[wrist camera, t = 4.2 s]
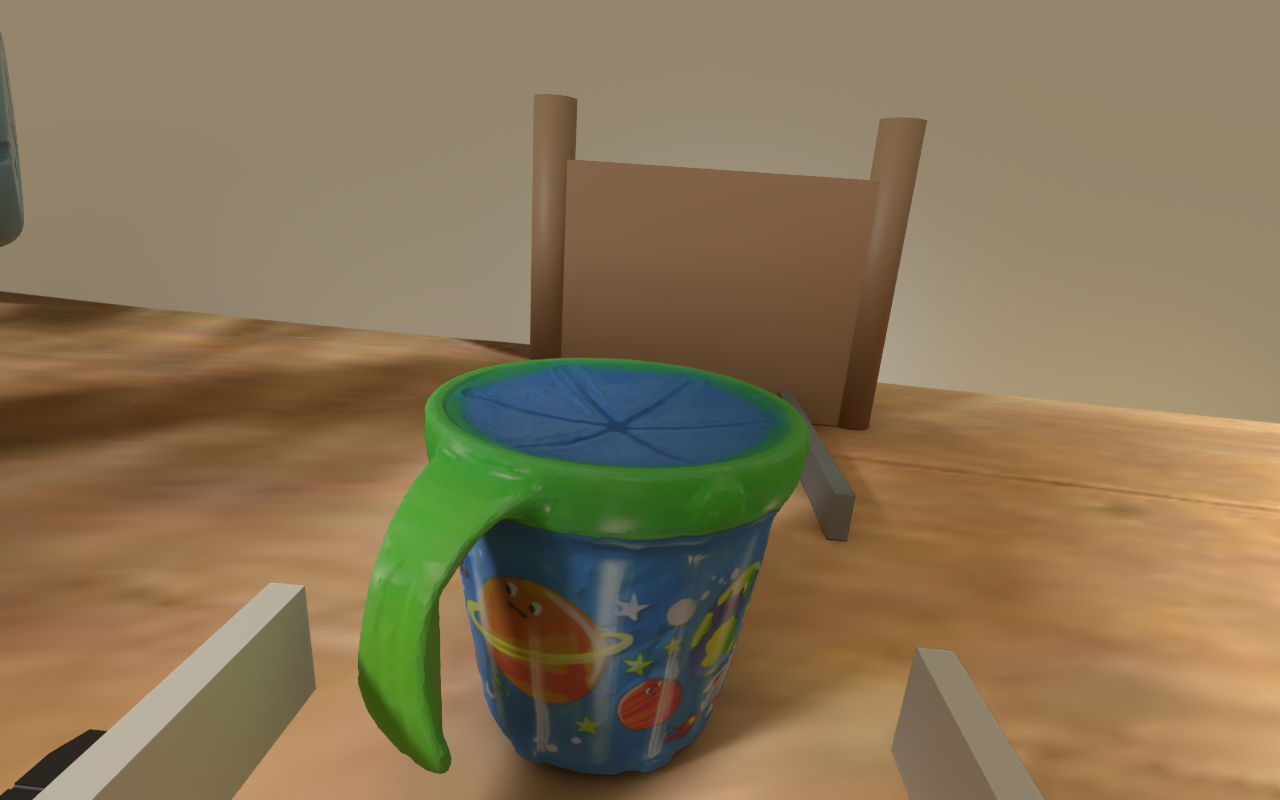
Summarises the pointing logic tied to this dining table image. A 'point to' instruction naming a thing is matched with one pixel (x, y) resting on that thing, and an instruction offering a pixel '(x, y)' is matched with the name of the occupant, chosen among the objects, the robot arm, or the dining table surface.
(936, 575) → the dining table surface
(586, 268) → the headboard cradle
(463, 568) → the snack cup
